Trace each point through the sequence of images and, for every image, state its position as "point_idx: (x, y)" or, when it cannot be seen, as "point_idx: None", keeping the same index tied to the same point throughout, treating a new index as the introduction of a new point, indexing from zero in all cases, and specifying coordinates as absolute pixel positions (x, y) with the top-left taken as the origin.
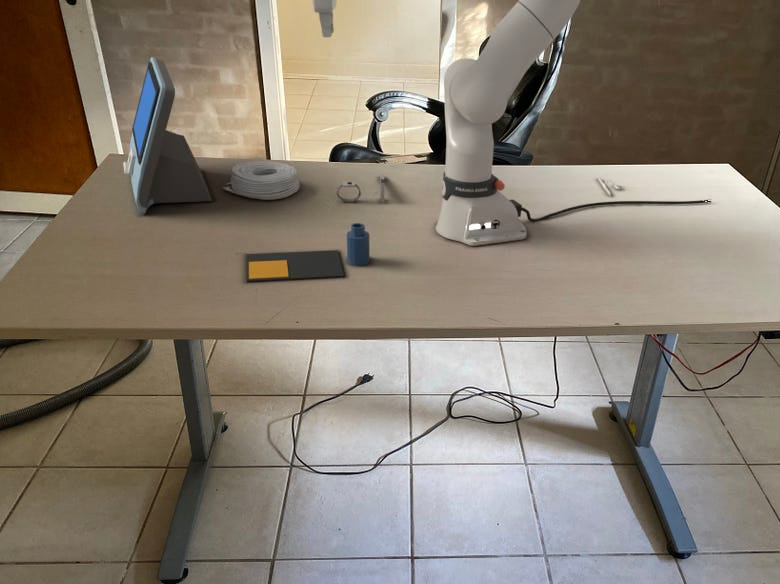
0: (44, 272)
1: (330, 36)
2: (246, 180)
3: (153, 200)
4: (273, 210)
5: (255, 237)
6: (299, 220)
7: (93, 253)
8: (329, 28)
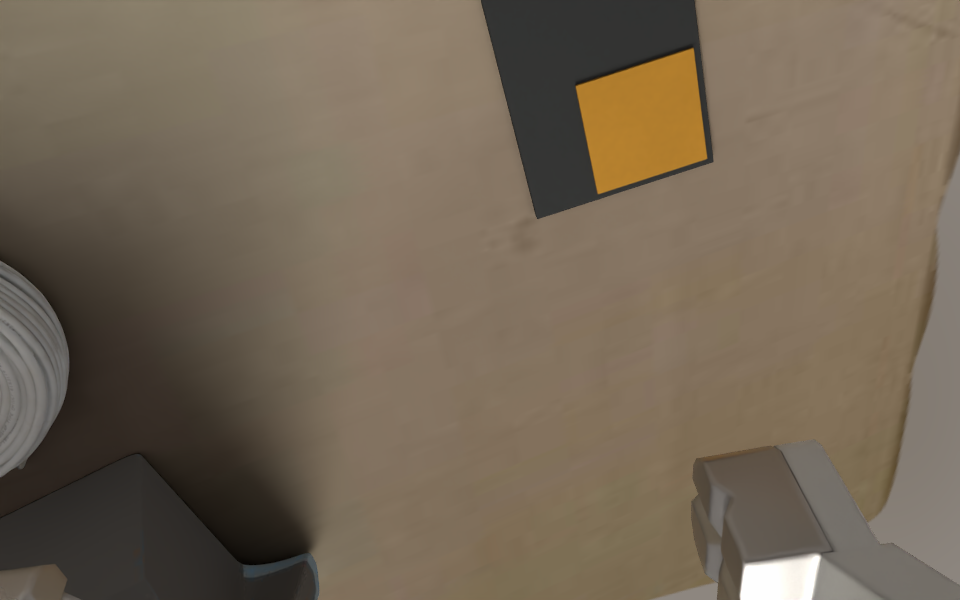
0: (664, 560)
1: (814, 443)
2: (46, 409)
3: (243, 571)
4: (132, 255)
5: (392, 236)
6: (196, 139)
7: (564, 534)
8: (870, 542)
